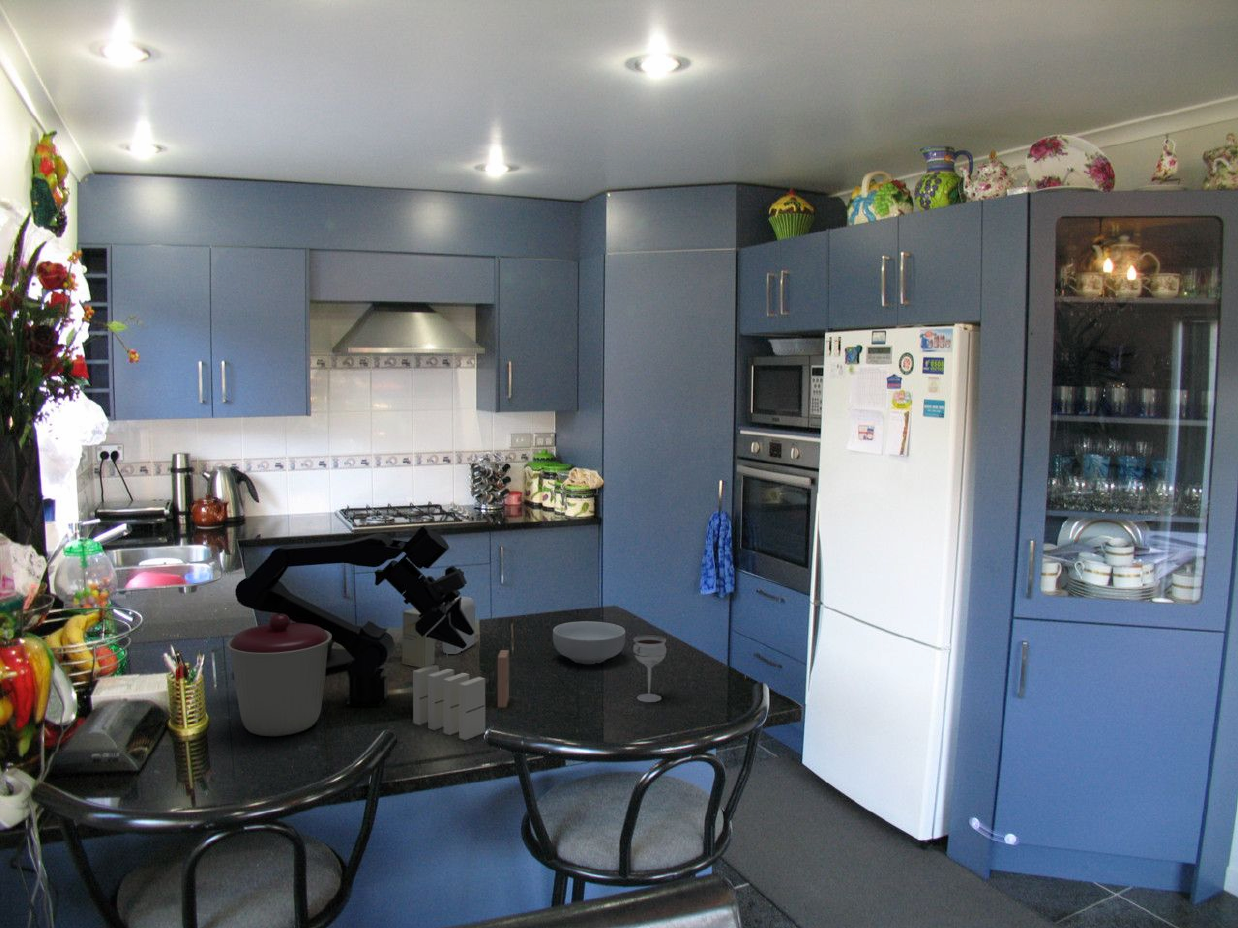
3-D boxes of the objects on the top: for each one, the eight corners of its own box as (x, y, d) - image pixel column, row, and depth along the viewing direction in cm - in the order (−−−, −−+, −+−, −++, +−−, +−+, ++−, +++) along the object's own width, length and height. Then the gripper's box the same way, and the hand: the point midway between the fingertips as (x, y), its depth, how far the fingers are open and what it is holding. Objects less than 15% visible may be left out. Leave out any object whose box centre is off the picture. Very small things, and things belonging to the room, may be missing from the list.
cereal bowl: (624, 671, 210) (625, 639, 210) (549, 670, 211) (549, 638, 210) (625, 649, 227) (626, 620, 227) (556, 648, 228) (556, 619, 227)
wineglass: (637, 704, 189) (638, 645, 188) (628, 693, 195) (629, 636, 194) (670, 701, 191) (671, 643, 190) (659, 691, 197) (660, 634, 196)
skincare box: (401, 664, 214) (400, 611, 212) (414, 659, 217) (414, 606, 216) (423, 668, 211) (423, 614, 210) (436, 663, 215) (436, 610, 213)
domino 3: (443, 732, 173) (443, 679, 172) (463, 725, 177) (463, 672, 176) (449, 735, 172) (449, 680, 171) (469, 726, 176) (469, 674, 175)
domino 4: (459, 738, 171) (458, 683, 170) (478, 729, 175) (478, 676, 174) (465, 740, 170) (465, 685, 169) (485, 731, 174) (485, 678, 173)
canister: (212, 725, 175) (209, 613, 173) (305, 702, 188) (303, 597, 186) (254, 754, 162) (251, 632, 161) (351, 727, 175) (349, 614, 173)
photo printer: (456, 656, 220) (456, 603, 219) (440, 653, 222) (439, 601, 221) (477, 644, 230) (477, 594, 229) (462, 642, 232) (461, 592, 230)
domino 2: (428, 728, 175) (427, 674, 174) (448, 720, 179) (447, 668, 178) (434, 729, 174) (433, 676, 173) (454, 722, 178) (453, 670, 177)
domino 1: (413, 723, 178) (412, 670, 177) (433, 715, 182) (432, 664, 181) (419, 725, 177) (418, 672, 176) (439, 717, 181) (438, 666, 180)
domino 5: (497, 707, 187) (497, 657, 186) (500, 698, 192) (500, 650, 191) (506, 707, 187) (506, 657, 186) (509, 698, 192) (509, 650, 191)
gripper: (431, 565, 177) (491, 624, 178) (449, 547, 196) (503, 601, 197) (390, 606, 178) (449, 665, 179) (411, 585, 196) (465, 638, 197)
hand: (469, 640), depth 188 cm, fingers open, 9 cm apart
